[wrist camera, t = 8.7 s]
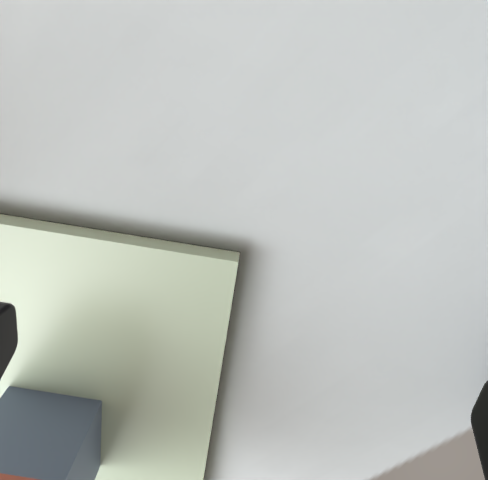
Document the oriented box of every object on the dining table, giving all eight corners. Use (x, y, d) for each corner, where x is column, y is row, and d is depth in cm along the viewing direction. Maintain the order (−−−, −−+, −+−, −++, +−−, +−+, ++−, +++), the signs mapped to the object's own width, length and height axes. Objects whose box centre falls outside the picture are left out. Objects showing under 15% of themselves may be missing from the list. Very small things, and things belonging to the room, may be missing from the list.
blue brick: (102, 400, 25) (63, 484, 20) (100, 465, 27) (64, 554, 22) (9, 386, 25) (-51, 466, 20) (14, 452, 27) (-39, 538, 22)
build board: (240, 252, 22) (238, 262, 21) (202, 484, 29) (200, 499, 28) (-36, 208, 22) (-49, 216, 21) (-9, 451, 28) (-18, 464, 28)
